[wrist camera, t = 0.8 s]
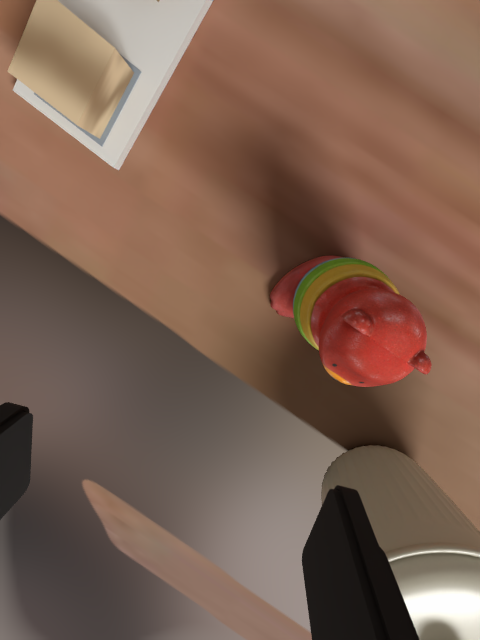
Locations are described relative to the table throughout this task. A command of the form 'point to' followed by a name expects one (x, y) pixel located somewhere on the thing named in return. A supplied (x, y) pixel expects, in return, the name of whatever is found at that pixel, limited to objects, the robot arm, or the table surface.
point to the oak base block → (70, 66)
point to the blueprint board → (130, 63)
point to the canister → (418, 539)
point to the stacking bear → (354, 320)
